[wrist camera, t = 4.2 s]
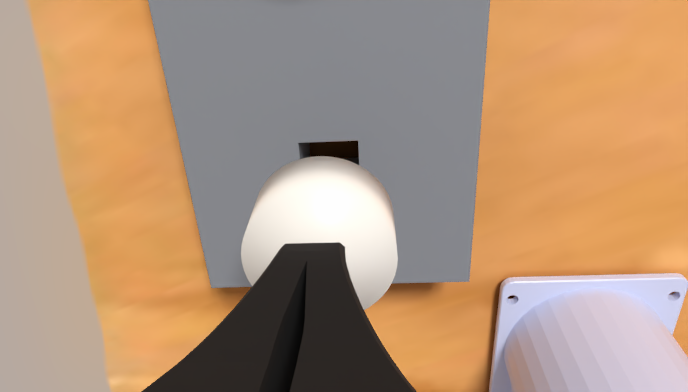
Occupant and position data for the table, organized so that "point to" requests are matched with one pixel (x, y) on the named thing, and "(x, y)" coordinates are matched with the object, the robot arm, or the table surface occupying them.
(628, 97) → the table surface
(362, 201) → the cream knob
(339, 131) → the knob mount
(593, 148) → the table surface
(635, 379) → the robot arm
